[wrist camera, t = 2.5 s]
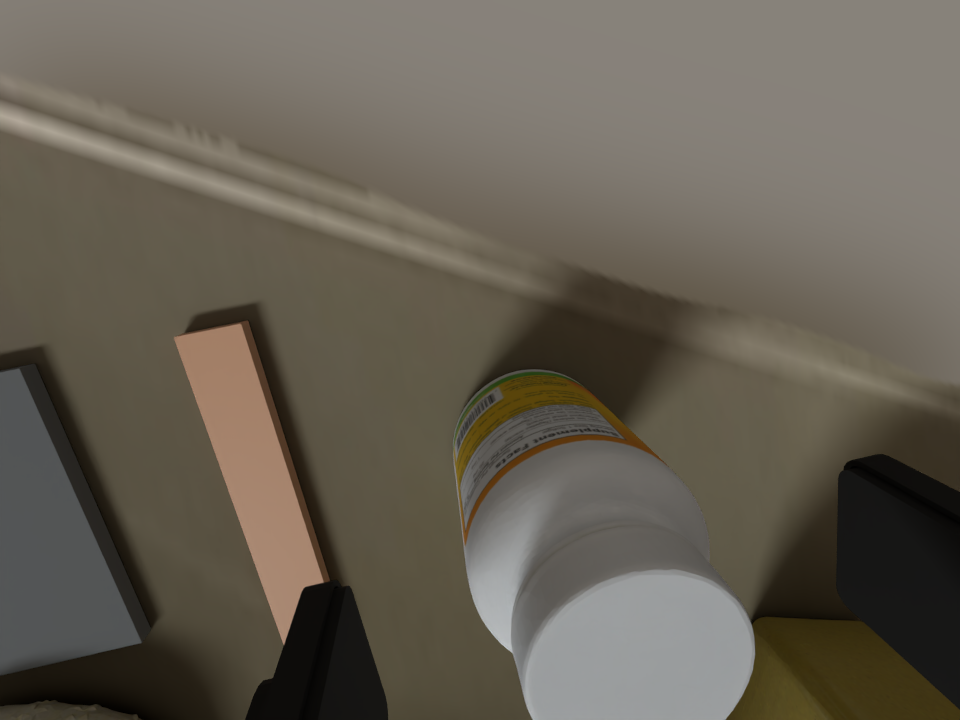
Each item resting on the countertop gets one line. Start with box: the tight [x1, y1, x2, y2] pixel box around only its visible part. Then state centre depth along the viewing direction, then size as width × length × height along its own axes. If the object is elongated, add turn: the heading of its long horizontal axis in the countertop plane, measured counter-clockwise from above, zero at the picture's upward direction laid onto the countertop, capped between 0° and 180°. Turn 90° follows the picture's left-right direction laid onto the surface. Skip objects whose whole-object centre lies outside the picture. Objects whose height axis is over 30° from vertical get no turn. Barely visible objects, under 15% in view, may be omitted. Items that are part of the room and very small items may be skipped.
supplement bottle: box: [453, 369, 755, 720], centre depth 13 cm, size 5×5×10 cm
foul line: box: [174, 320, 330, 644], centre depth 17 cm, size 12×2×1 cm, turn 11°
